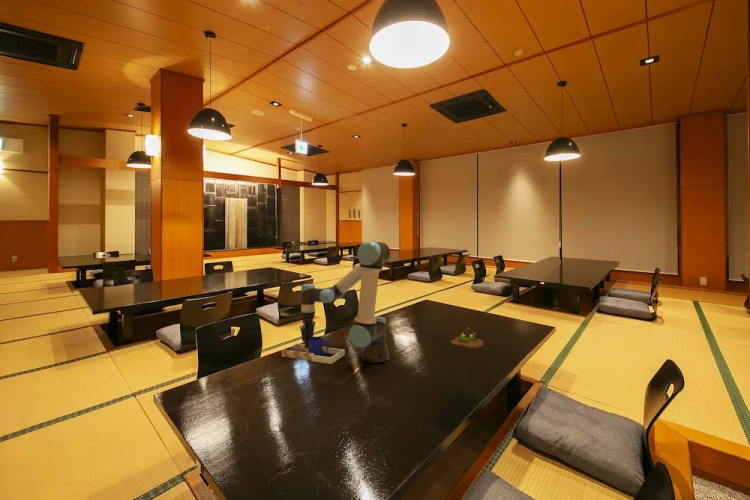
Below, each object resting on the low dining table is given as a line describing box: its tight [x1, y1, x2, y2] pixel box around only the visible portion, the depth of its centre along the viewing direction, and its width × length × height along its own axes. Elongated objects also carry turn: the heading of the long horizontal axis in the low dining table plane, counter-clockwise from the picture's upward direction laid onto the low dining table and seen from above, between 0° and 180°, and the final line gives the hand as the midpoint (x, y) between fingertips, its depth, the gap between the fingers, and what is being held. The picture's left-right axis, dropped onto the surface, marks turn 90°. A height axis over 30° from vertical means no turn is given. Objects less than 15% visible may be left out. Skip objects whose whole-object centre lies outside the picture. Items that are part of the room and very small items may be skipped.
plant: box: [450, 326, 485, 349], centre depth 206 cm, size 20×20×11 cm
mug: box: [308, 336, 330, 356], centre depth 181 cm, size 8×12×10 cm
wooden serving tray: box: [281, 343, 326, 361], centre depth 184 cm, size 20×14×4 cm
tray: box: [311, 346, 346, 365], centre depth 179 cm, size 12×16×3 cm
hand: (307, 352), depth 184 cm, fingers closed
